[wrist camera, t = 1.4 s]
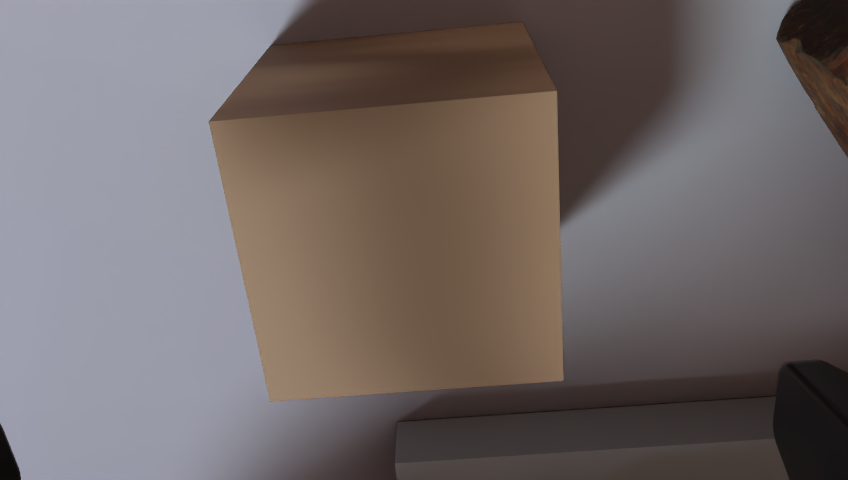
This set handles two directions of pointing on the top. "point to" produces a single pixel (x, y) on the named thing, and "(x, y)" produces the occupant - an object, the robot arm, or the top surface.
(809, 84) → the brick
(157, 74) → the top surface
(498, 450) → the foundation
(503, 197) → the tan cube
